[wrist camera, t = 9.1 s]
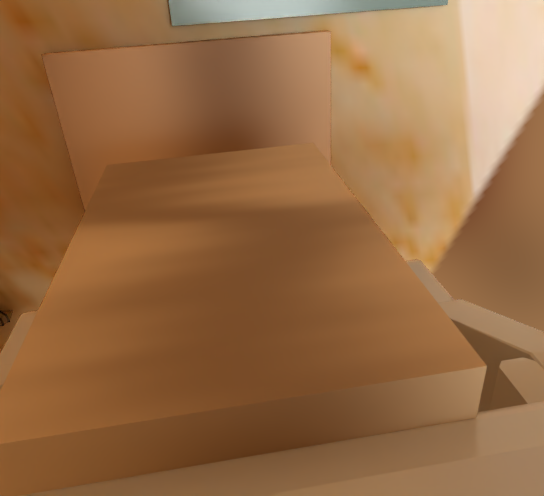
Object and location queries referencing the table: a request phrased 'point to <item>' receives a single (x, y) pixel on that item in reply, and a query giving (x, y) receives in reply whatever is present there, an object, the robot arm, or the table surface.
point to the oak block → (224, 326)
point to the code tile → (276, 8)
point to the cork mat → (190, 99)
